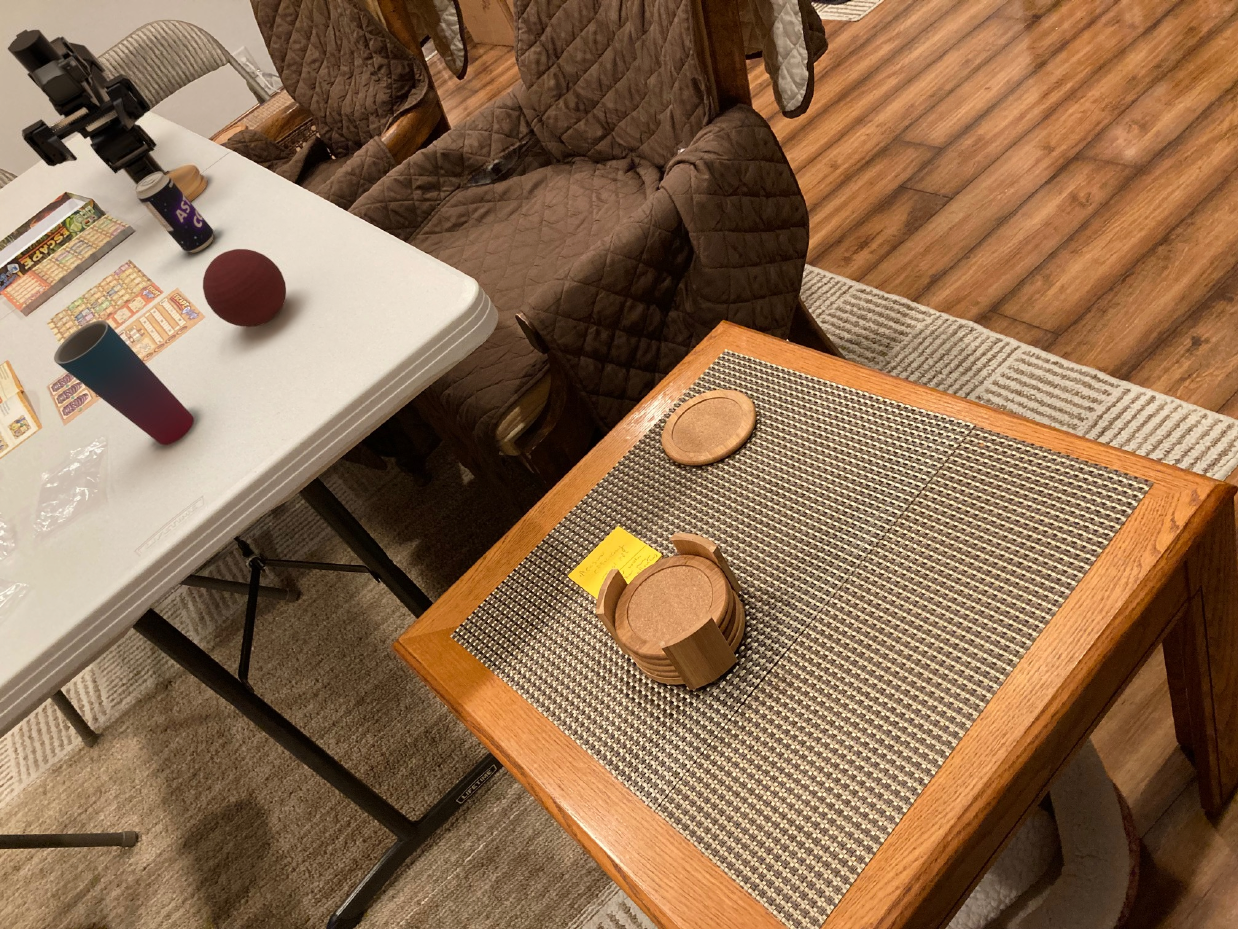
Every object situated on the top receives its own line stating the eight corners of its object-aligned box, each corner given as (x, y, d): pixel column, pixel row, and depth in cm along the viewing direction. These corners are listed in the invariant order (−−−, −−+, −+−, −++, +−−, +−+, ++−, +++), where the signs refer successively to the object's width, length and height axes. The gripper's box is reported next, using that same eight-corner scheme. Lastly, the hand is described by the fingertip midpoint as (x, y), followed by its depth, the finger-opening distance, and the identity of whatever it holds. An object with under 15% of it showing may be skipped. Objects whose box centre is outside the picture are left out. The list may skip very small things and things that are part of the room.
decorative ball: (231, 353, 114) (178, 295, 107) (241, 309, 121) (192, 252, 114) (298, 324, 112) (249, 263, 105) (304, 281, 119) (258, 222, 112)
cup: (160, 418, 109) (66, 332, 99) (205, 401, 108) (115, 312, 98) (145, 457, 105) (44, 371, 94) (192, 440, 103) (96, 350, 93)
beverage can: (207, 251, 138) (152, 188, 129) (180, 258, 140) (125, 195, 131) (223, 229, 141) (170, 166, 133) (197, 236, 143) (144, 174, 135)
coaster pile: (157, 201, 161) (145, 187, 159) (203, 172, 162) (192, 158, 160) (162, 219, 154) (150, 205, 152) (211, 189, 155) (199, 174, 153)
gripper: (-15, 87, 136) (4, 130, 128) (92, 28, 139) (117, 65, 131) (40, 146, 145) (60, 189, 137) (138, 89, 148) (165, 127, 140)
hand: (100, 142), depth 136 cm, fingers open, 9 cm apart
